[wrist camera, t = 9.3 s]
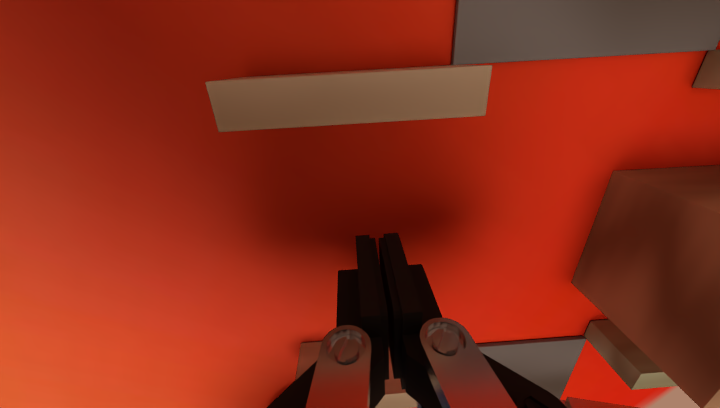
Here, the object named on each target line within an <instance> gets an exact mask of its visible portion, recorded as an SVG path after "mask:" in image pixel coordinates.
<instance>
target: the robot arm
mask: <svg viewBox="0 0 720 408" xmlns="http://www.w3.org/2000/svg"><path fill="white" fill-rule="evenodd" d="M356 249H357V264H358V269H352V270H339V271H338V293H337V328H334V329H333V330H331V331H330V332H329V333H328V334H327V335H326V336H325V337H324V339H323V341H322V344H321V347H320V351H319V355H318V359H317V361H316V362H315V363H314V364H313V365H311V366H310V367H309V368H308V369H307V370H306V371H305V372H304V373H303V374H302V375H301V376H300V377H299V378H298V379H297V380H296V381H294V382H293V383H292V384H291V385H290V386H289V387H288V388H287V389H286V390H285V391H284V392H283V393H282V394H281V395H280V396H279V397H277V398H276V399H275V400H274V401H273V402H272V403H271V404H270V405H269V406H268V407H267V408H375V407H376V406H377V405H378V403H379V402H380V401H381V399H382V398H383V397H384V395H385V380H389V351H390V357H391V364H392V370H393V376H394V379H400V382H401V387H402V390H403V389H405V391H406V393H407V394H408V395H409V396H411V397H412V398H413V399H414V400H416V404H417V408H638V407H631V406H625V405H618V404H611V403H605V402H598V401H592V400H585V399H578V398H572V397H567V399H566V401H565V400H559V399H558V398H557V397H555V396H554V395H553V394H551V393H550V392H548V391H547V390H545V389H543V388H542V387H540V386H538V385H536V384H535V383H533V382H531V381H530V380H528V379H526V378H524V377H523V376H521V375H519V374H518V373H516V372H514V371H512V370H511V369H509V368H507V367H506V366H504V365H502V364H500V363H499V362H497V361H495V360H494V359H492V358H490V357H488V356H487V355H485V354H483V353H482V352H481V351H480V349H479V348H478V346H477V345H476V343H475V342H474V340H473V339H472V337H471V335H470V334H469V332H468V331H467V330H466V329H465V328H464V327H463V326H462V325H461V324H459V323H458V322H456V321H454V320H451V319H448V318H442V315H441V313H440V310H439V307H438V305H437V302H436V300H435V297H434V295H433V292H432V289H431V287H430V284H429V282H428V279H427V276H426V274H425V271H424V269H423V266H422V265H421V264H417V265H408V263H407V260H406V257H405V254H404V251H403V247H402V244H401V241H400V238H399V235H398V233H388V234H384V237H383V238H379V259H378V254H377V248H376V242H375V238H370V237H369V235H361V236H356ZM379 263H380V265H379Z"/></svg>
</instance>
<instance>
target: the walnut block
mask: <svg viewBox="0 0 720 408" xmlns="http://www.w3.org/2000/svg"><path fill="white" fill-rule="evenodd" d="M571 283H572V284H573V285H574V286H575V287H576V288H577V289H578V290H579V291H581V292H582V293H583V294H584V295H585V296H586V297H587V298H588V299H589V300H590V301H591V302H592V303H593V304H594V305H595V306H596V307H597V308H598V309H599V310H600V311H601V312H602V313H603V314H604V315H605V316H606V317H607V318H608V319H609V320H610V321H612V322H613V323H614V324H615V325H616V326H617V327H618V328H619V329H620V330H621V331H622V332H623V333H624V334H625V335H626V336H627V337H628V338H629V339H630V340H631V341H632V342H633V343H634V344H635V345H636V346H637V347H638V348H639V349H640V350H641V351H642V352H644V353H645V354H646V355H647V356H648V357H649V358H650V359H651V360H652V361H653V362H654V363H655V364H656V365H657V366H658V367H659V368H660V369H661V370H662V371H663V372H664V373H665V374H666V375H667V376H668V377H669V378H670V379H671V380H672V381H673V382H675V383H676V384H677V385H678V386H679V387H680V388H681V389H682V390H683V391H684V392H685V393H686V394H687V395H688V396H689V397H690V398H691V399H692V400H693V401H694V402H695V403H696V404H697V405H698V406H699V407H700V408H720V165H708V166H690V167H672V168H654V169H637V170H619V171H613V173H612V175H611V178H610V181H609V183H608V186H607V189H606V191H605V194H604V197H603V199H602V202H601V205H600V207H599V210H598V213H597V215H596V218H595V221H594V223H593V226H592V228H591V231H590V234H589V236H588V239H587V242H586V244H585V247H584V250H583V252H582V255H581V258H580V260H579V263H578V266H577V268H576V271H575V274H574V276H573V279H572V282H571Z"/></svg>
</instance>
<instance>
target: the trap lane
mask: <svg viewBox="0 0 720 408" xmlns="http://www.w3.org/2000/svg"><path fill="white" fill-rule="evenodd" d="M719 40H720V0H457V2H456V14H455V26H454V38H453V50H452V62H451V65H443V66H426V67H408V68H391V69H374V70H357V71H339V72H322V73H305V74H287V75H270V76H253V77H240V78H233V79H225V80H217V81H209V82H205V83H206V87H207V91H208V94H209V98H210V102H211V105H212V109H213V113H214V117H215V120H216V124H217V128H218V131H219V132H229V131H245V130H262V129H278V128H294V127H310V126H327V125H343V124H359V123H375V122H392V121H408V120H424V119H440V118H457V117H473V116H485V114H486V107H487V100H488V92H489V85H490V78H491V71H492V65H463V64H480V63H497V62H515V61H532V60H549V59H566V58H584V57H601V56H618V55H636V54H653V53H670V52H688V51H705V50H708V52H707V54H706V57H705V59H704V61H703V64H702V66H701V68H700V71H699V73H698V75H697V77H696V80H695V82H694V84H693V88H708V89H720V50H715V49H716V47H717V45H718V42H719ZM586 339H587V340H588V341H589V342H590V343H591V344H592V345H593V347H594V348H595V349H596V350H597V351H598V352H599V353H600V355H601V356H602V357H603V358H604V359H605V360H606V361H607V362H608V364H609V365H610V366H611V367H612V368H613V369H614V370H615V372H616V373H617V374H618V375H619V376H620V377H621V378H622V379H623V381H624V382H625V383H626V384H627V385H628V386H629V387H630V389H631V390H634V389H646V388H658V387H670V386H678V385H677V384H676V383H675V382H673V381H672V380H671V379H670V378H669V377H668V376H667V375H666V374H665V373H664V372H663V371H662V370H661V369H660V368H659V367H658V366H657V365H656V364H655V363H654V362H653V361H652V360H651V359H650V358H649V357H648V356H647V355H646V354H645V353H644V352H642V351H641V350H640V349H639V348H638V347H637V346H636V345H635V344H634V343H633V342H632V341H631V340H630V339H629V338H628V337H627V336H626V335H625V334H624V333H623V332H622V331H621V330H620V329H619V328H618V327H617V326H616V325H615V324H614V323H613V322H612V321H610V320H609V319H608V320H595V321H590V323H589V325H588V328H587V330H586V332H585V335H584V336H575V337H562V338H549V339H536V340H523V341H510V342H497V343H484V344H476V345H477V346H478V348H479V349H480V351H481V352H482V353H483V354H485V355H487V356H488V357H490V358H492V359H494V360H495V361H497V362H499V363H500V364H502V365H504V366H506V367H507V368H509V369H511V370H512V371H514V372H516V373H518V374H519V375H521V376H523V377H524V378H526V379H528V380H530V381H531V382H533V383H535V384H536V385H538V386H540V387H542V388H543V389H545V390H547V391H548V392H550V393H551V394H553V395H554V396H555V397H557V398H558V399H559V400H560V398H561V395H562V393H563V391H564V389H565V386H566V384H567V382H568V380H569V377H570V375H571V373H572V371H573V368H574V366H575V364H576V362H577V359H578V357H579V355H580V353H581V350H582V348H583V346H584V344H585V341H586ZM321 344H322V341H321V342H308V343H301V347H300V353H299V359H298V366H297V372H296V379H295V381H296V380H297V379H298V378H299V377H300V376H301V375H302V374H303V373H304V372H305V371H306V370H307V369H308V368H309V367H310V366H311V365H313V364H314V363H315V362H316V361H317V359H318V355H319V351H320V347H321ZM414 407H417V404H416V400H414V399H413V398H412V397H411V396H409V395H408V394H407V393H406V391H405V389H403V390H402V387H401V382H400V379H394V376H393V370H392V364H391V357H390V351H389V380H385V395H384V397H383V398H382V399H381V401H380V402H379V403H378V405H377V406H376V407H375V408H414Z"/></svg>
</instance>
